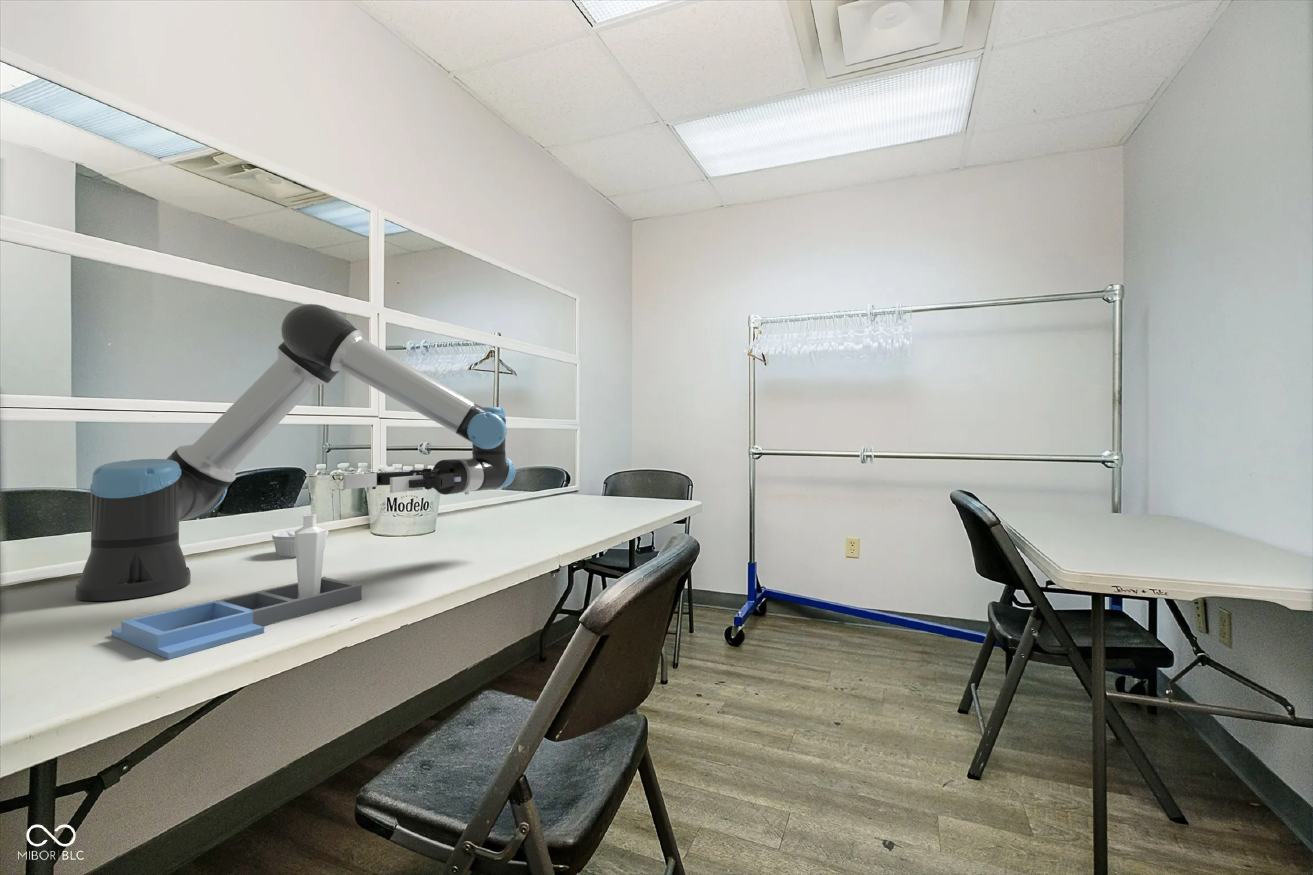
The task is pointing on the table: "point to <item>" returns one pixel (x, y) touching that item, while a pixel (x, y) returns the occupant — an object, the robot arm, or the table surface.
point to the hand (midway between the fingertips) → (366, 483)
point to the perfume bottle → (309, 556)
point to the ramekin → (287, 543)
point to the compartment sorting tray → (229, 618)
